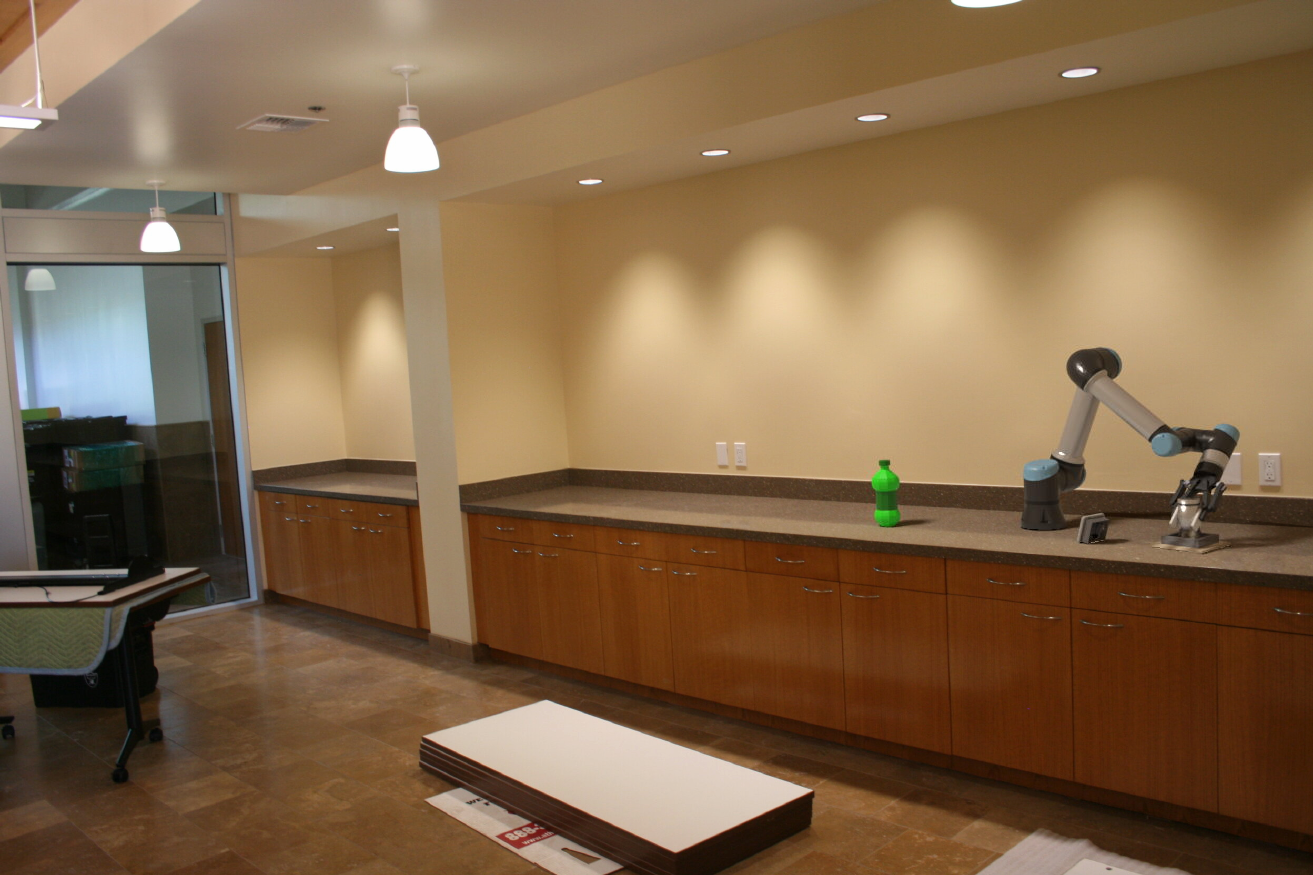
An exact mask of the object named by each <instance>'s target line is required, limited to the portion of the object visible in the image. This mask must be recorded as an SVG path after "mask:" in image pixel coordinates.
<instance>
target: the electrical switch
mask: <svg viewBox="0 0 1313 875" xmlns="http://www.w3.org/2000/svg"><path fill="white" fill-rule="evenodd" d="M1079 524H1080V525H1079V527H1078V534H1077V539H1076V542H1077V543H1078V544H1081V543H1080V542H1083V544H1086V543H1087V545H1089V544H1088V543H1091V542H1095V541H1101V540H1105V541H1106V537H1107V534H1108V528H1109V526H1110V525H1109V524H1110V518H1107V517H1105V513H1103V512H1100V513H1095V514H1090V515H1089V514H1088V515H1083V516H1082V517H1081V519H1080V523H1079ZM1092 540H1093V541H1092Z"/></svg>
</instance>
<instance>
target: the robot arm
mask: <svg viewBox="0 0 1313 875" xmlns="http://www.w3.org/2000/svg"><path fill="white" fill-rule="evenodd" d="M1065 366H1066V369H1065V370H1066V374H1067V375H1068V377H1069V379H1070V380H1071V381H1072V383H1074V385H1075V386H1076V389H1075V393H1074V396H1073V399H1072V403H1071V406H1070V408H1069V410H1068V411H1069V412H1068V415H1067V417H1066V420H1065V424H1064V428H1063V430H1062V434H1061V437H1060V440H1059V444H1058V447H1057V449H1055V450H1052V451H1051V453H1050V456H1049V458H1044V459H1043V458H1042V459H1035V460H1032V461H1029V462H1026V463H1025V464H1024V465H1023V469H1022V470H1023V473H1022V478H1023V491H1024V492H1023V493H1024V494H1023V495H1024V507H1023V509H1022V514H1021V518H1020V521H1019V523H1020V524H1019V525H1020V526H1019V527H1020V528H1021V527H1023V528H1022V529H1024V528H1027V529H1026V530H1029V529H1038V530H1037V531H1053V530H1052V529H1057V530H1062V529H1065V528H1066V527H1067V520H1066V518H1065V514H1064V512H1063V510H1062V507H1061V501H1060V500H1061V498H1060V497H1061V496H1060V494H1062V493H1069V492H1072V491H1076V489H1078V488H1080V487H1081V486H1082V485H1083V484H1084V482H1085V481H1086V479H1087V469H1086V468H1085V467H1086V466H1085V464H1086V459H1085V458H1084V456H1083V455H1084V452H1085V449H1086V446H1087V443H1088V440H1089V437H1090V433H1091V430H1092V427H1093V426H1094V425H1093V424H1094V421H1095V418H1096V415H1097V412H1098V409H1099V406H1100V403H1102V404H1103V405H1105V407H1107V408H1108V409H1109V410H1110V411H1112V412H1113V413H1114V414H1115V415H1116V416H1118V417H1119V418H1120V419H1121V420H1122V421H1123V422H1124V423H1126V424H1127V425H1128V426H1129V427H1131V428H1132V429H1133V430H1135V432H1137V433H1138V435H1140V436H1141V437H1142V438H1144V440H1146V441H1147V442H1149V443H1150V444H1151V445H1150V447H1151V449H1152V451H1153V453H1154V454H1155V455H1157V456H1158V457H1163V458H1169V457H1176V456H1177V455H1182V454H1185V453H1191V452H1193V453H1201V456H1200V459H1199V460H1198V463H1197V464H1196V467H1195V468H1194V471H1193V475H1192V477H1191V478H1190V479H1187V480H1186V479H1185V480H1184V478H1181V479H1180V480H1179V485H1178V487H1177V489H1176V491H1175V492H1174V494H1173V496H1172V498H1171V499H1170V501H1169V505H1170V506H1171V508H1172V512H1171V513H1170V516H1171V519H1170V521H1169V522H1168V524H1169V525H1170V527H1171V528H1172V529H1176V528H1177V526H1178V504H1177V502H1178V499H1179V498H1194V497H1195V496H1197V495H1198V494H1199V493H1201V494H1202V502H1201V505H1200V509H1198V511H1197V513H1196V515H1195V518H1194V520H1193V522H1192V524H1191V527H1192V528H1193V530H1194V531H1197V530H1198V528H1199V526H1200V523H1201V524H1202V522H1205V520H1206V518H1207V516H1208V514H1209V513H1216V512H1217V511H1218V507H1219V505H1220V502H1221V499H1222V496H1223V494H1224V493H1225V491H1226V490H1227V489H1228V486H1227V485H1226V484H1225V483H1224V482H1223V481H1221V479H1222V477H1223V475H1224V473H1225V470H1226V468H1227V466H1228V464H1229V462H1230V459H1231V457H1232V455H1233V453H1234V451H1235V449H1236V447H1237V446H1238V442H1239V440H1240V437H1241V433H1240V430H1239V429H1238V428H1237V427H1236V426H1234V425H1231V424H1230V423H1225V422H1223V423H1219V424H1216V426H1214V428H1213V429H1212V430H1211V429H1202V428H1201V429H1200V428H1190V427H1186V426H1180V427H1179V426H1173V427H1170V426H1169V425H1168V424H1167V423H1165V421H1163V420H1162V419H1161V418H1160V417H1158V416H1157V415H1156V414H1154V413H1153V412H1152V411H1151V410H1150V409H1149V408H1147V407H1146V406H1145V405H1144V404H1143V403H1141V402H1140V401H1139V400H1137V399H1136V398H1135V397H1134V395H1131V394H1130V393H1129V392H1128V391H1127V390H1125V389H1124V388H1123V387H1121V385H1119V384H1118V383H1116V381H1114V379H1116V378H1117V377H1118V376H1119V375H1120V374H1121V372H1122V368H1123V362H1122V358H1121V357H1120V355H1119V353H1117V351H1116V350H1114V349H1112V348H1109V347H1102V346H1098V347H1094V348H1083V349H1079V350H1076V351H1074V352H1073V353H1072V354H1071V355H1070V356H1069V357H1068V359H1067V362H1066V364H1065ZM1220 481H1221V482H1220ZM1213 490H1214V491H1213ZM1212 491H1213V494H1212ZM1061 528H1062V529H1061Z"/></svg>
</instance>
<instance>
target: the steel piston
mask: <svg viewBox="0 0 1313 875" xmlns="http://www.w3.org/2000/svg"><path fill="white" fill-rule="evenodd" d="M1177 504H1178V524H1177V526H1178V531H1179V537H1182V538H1190V539H1199V538H1201V532H1202V527H1201V526H1202V525H1201V524H1202V522H1201V523H1200V526H1199V528H1198V530H1197V531H1194V530H1193V528H1192V527H1191V524H1192V522H1193V520H1194V518H1195V515H1196V513H1197V511H1198V509H1201V505H1202V502H1201V499H1200V498H1199V497H1193V498H1179V499H1178V502H1177Z"/></svg>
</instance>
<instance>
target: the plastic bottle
mask: <svg viewBox="0 0 1313 875" xmlns="http://www.w3.org/2000/svg"><path fill="white" fill-rule="evenodd" d="M878 466H880V469H879V470H878V471H876V473H875V474H874V475H873V476H872V477H871V487H872V489H873V490H875V504H876V506H875V508H876V509H875V511H874V514H873V515H874V520H875V521H876V522H877V524H879V525H880V526H881V527H882V528H883V527H884V528H886V527H888V528H891V527H895V526H896V525H898V523H899V522H900V519H901V516H902V515H901V513H900V511H899V508H898V507H899V506H898V493H897V492H898V489H899V488H900V484H901V482H900V481H901V480H900V478H899V476H898V475H897V474H895V472H893V471H892V470H891V469H890V466H891V460H890V459H879V460H878Z"/></svg>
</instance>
